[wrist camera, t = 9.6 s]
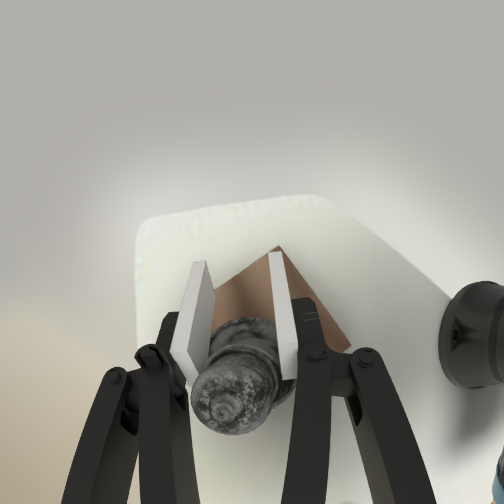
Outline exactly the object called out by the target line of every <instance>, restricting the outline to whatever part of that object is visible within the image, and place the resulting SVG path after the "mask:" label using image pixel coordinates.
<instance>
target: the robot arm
mask: <svg viewBox="0 0 504 504" xmlns="http://www.w3.org/2000/svg"><path fill="white" fill-rule="evenodd" d="M268 257H269V266H270V274H271V283H272V292H273V302H274V311H275V320H276V330H277V340H278V349H279V357H280V365H281V374H282V380H288V379H295V378H297V382H296V393H295V403H294V412H293V421H292V430H291V438H290V446H289V454H288V461H287V468H286V475H285V481H284V488H283V494H282V500H281V504H325V500H326V491H327V480H328V468H329V453H330V433H331V396H340V397H344V399H345V402H346V406H347V409H348V412H349V416H350V419H351V422H352V426H353V429H354V433H355V436H356V440H357V443H358V447H359V450H360V454H361V458H362V461H363V465H364V469H365V473H366V476H367V480H368V484H369V488H370V492H371V496H372V500H373V504H437V503H436V500H435V496H434V493H433V489H432V486H431V483H430V480H429V477H428V474H427V471H426V468H425V465H424V462H423V459H422V456H421V453H420V450H419V447H418V445H417V442H416V439H415V436H414V434H413V431H412V429H411V426H410V423H409V421H408V418H407V416H406V413H405V411H404V408H403V406H402V403H401V401H400V399H399V396H398V394H397V392H396V389H395V387H394V385H393V382H392V380H391V378H390V375H389V373H388V371H387V369H386V366H385V364H384V362H383V360H382V358H381V356H380V354H379V353H378V352H377V351H376V350H374V349H372V348H367V347H366V348H360V349H357V350H355V351H354V352H353V353H352V354H345V353H339V352H336V351H333V350H332V349H330V348H329V347H328V345H327V344H326V341H325V338H324V334H323V330H322V326H321V322H320V319H319V315H318V312H317V308H316V304H315V302H314V301H313V300H312V299H311V298H310V297H305V298H297V299H290V294H289V289H288V283H287V278H286V273H285V267H284V262H283V257H282V252H281V251H278V252H270V253H268ZM215 298H216V296H215V292H214V289H213V285H212V282H211V278H210V274H209V271H208V267H207V264H206V261H198V262H193V264H192V268H191V271H190V275H189V279H188V282H187V286H186V289H185V293H184V297H183V301H182V304H181V308H180V312H169V313H168V314H167V315H166V316H165V318H164V319H163V321H162V324H161V329H160V331H159V335H158V338H157V341H156V345H155V344H148V345H145V346H143V347H141V348H140V349H139V350H138V351H137V352H136V354H135V357H134V358H135V359H136V361H137V362H138V364H139V365H140V366H141V368H139V369H137V370H132V371H129V372H126V370H125V369H124V368H121V367H114V368H111V369H110V370H108V371H107V372H106V374H105V375H104V377H103V379H102V382H101V384H100V387H99V389H98V392H97V394H96V397H95V399H94V402H93V404H92V407H91V410H90V412H89V415H88V418H87V420H86V423H85V426H84V429H83V432H82V434H81V437H80V440H79V443H78V446H77V449H76V452H75V456H74V459H73V462H72V465H71V468H70V472H69V475H68V479H67V483H66V486H65V490H64V494H63V498H62V502H61V504H127V500H128V495H129V490H130V486H131V481H132V476H133V472H134V468H135V463H136V459H137V455H138V451H139V482H140V499H141V504H200V499H199V493H198V486H197V479H196V472H195V464H194V456H193V447H192V438H191V427H190V416H189V403H188V393H187V390H186V388H185V384H186V381H187V382H188V384H189V386H193V384H194V382H195V380H196V379H197V377H198V376H199V375H200V374H201V373H202V371H203V367H204V365H205V363H206V361H207V360H208V353H209V345H210V336H211V328H212V321H213V313H214V305H215ZM439 355H440V361H441V365H442V368H443V371H444V373H445V375H446V376H447V378H448V379H449V380H450V381H451V382H452V383H454V384H455V385H457V386H460V387H463V388H467V389H479V388H483V387H485V386H487V385H494V384H499V383H504V286H501V285H499V284H497V283H494V282H491V281H481V282H476V283H472V284H469V285H467V286H465V287H464V288H462V289H461V290H460V291H459V292H458V293H457V294H456V296H455V297H454V298H453V299H452V301H451V302H450V304H449V306H448V308H447V310H446V313H445V315H444V318H443V321H442V325H441V330H440V337H439ZM492 493H493V497H494V501H495V503H496V504H504V447H503V451H502V454H501V456H500V458H499V460H498V464H497V468H496V475H495V478H494V481H493V486H492Z"/></svg>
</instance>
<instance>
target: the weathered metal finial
mask: <svg viewBox="0 0 504 504" xmlns="http://www.w3.org/2000/svg"><path fill="white" fill-rule="evenodd" d="M296 382H297V378H295V379H288V380H282V374H281V365H280V357H279V349H278V340H277V330H276V324H275V323H273V322H271V321H269V320H266V319H262V318H257V317H241V318H238V319H234V320H231V321H228V322H226V323H225V324H223V325H221V326H220V327H218V328H217V329H216V330H215V331H214V332H213V333H212V334H211V336H210V345H209V353H208V360H207V361H206V363H205V365H204V367H203V371H202V373H201V374H200V375H199V376H198V377H197V379H196V380H195V382H194V384H193V387H192V392H191V405H192V408H193V410H194V413H195V414H196V416H197V417H198V419H199V420H200V421H201V422H202V423H203V424H204V425H205V426H207V427H208V428H210V429H212V430H214V431H216V432H218V433H222V434H226V435H239V434H244V433H248V432H250V431H252V430H254V429H256V428H257V427H258V426H260V425H261V424H262V423H263V422H264V421H265V420H266V418H267V417H268V415H269V413H270V411H271V409H272V408H274V407H276V406H277V405H279V404H281V403H283V402H284V401H285V400H286V399H287V398H288V397H289V396H290V395H291V394H292V392H293V390H294V389H295V387H296Z"/></svg>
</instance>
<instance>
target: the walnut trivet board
mask: <svg viewBox="0 0 504 504" xmlns="http://www.w3.org/2000/svg"><path fill="white" fill-rule="evenodd" d="M278 251H281V252H282V257H283V262H284V267H285V273H286V278H287V283H288V289H289V294H290V299H297V298H305V297H310V298H311V299H312V300H313V301H314V302H315V304H316V308H317V312H318V315H319V319H320V322H321V326H322V330H323V334H324V338H325V341H326V344H327V345H328V347H329V348H330V349H332V350H333V351H336V352H339V353H342V352H344V351H345V350H346V349H347V348H349V347H350V346H351V344H350V342H349V341H348V339H347V338H346V337H345V335H344V334H343V332H342V331H341V330H340V328H339V327H338V325H337V324H336V323H335V321H334V320H333V318H332V317H331V316H330V314H329V313H328V311H327V310H326V309H325V307H324V306H323V304H322V303H321V302H320V300H319V299H318V298H317V296H316V295H315V293H314V292H313V291H312V289H311V288H310V287H309V285H308V284H307V283H306V281H305V280H304V278H303V277H302V276H301V274H300V273H299V272H298V270H297V269H296V268H295V266H294V265H293V264H292V262H291V261H290V260H289V258H288V257H287V256H286V254H285V253H284V251H283V250H282V249H281V247H280V246H277V247H276V248H275V249H273V250H272V251H270V252H278ZM270 252H269V253H270ZM214 292H215V296H216V298H215V305H214V313H213V321H212V328H211V334H212V333H213V332H214V331H215V330H216V329H217V328H218V327H220V326H221V325H223V324H225V323H226V322H228V321H231V320H234V319H238V318H241V317H257V318H262V319H266V320H269V321H271V322H273V323H275V324H276V320H275V311H274V302H273V292H272V283H271V274H270V266H269V257H268V254H266V255H265V256H263V257H262V258H260V259H259V260H258V261H256V262H255V263H253V264H252V265H250V266H249V267H248V268H246V269H245V270H243V271H242V272H240V273H239V274H238V275H236V276H235V277H233V278H232V279H230V280H229V281H228V282H226V283H225V284H223V285H222V286H220V287H219V288H218V289H216V290H215V291H214Z"/></svg>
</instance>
